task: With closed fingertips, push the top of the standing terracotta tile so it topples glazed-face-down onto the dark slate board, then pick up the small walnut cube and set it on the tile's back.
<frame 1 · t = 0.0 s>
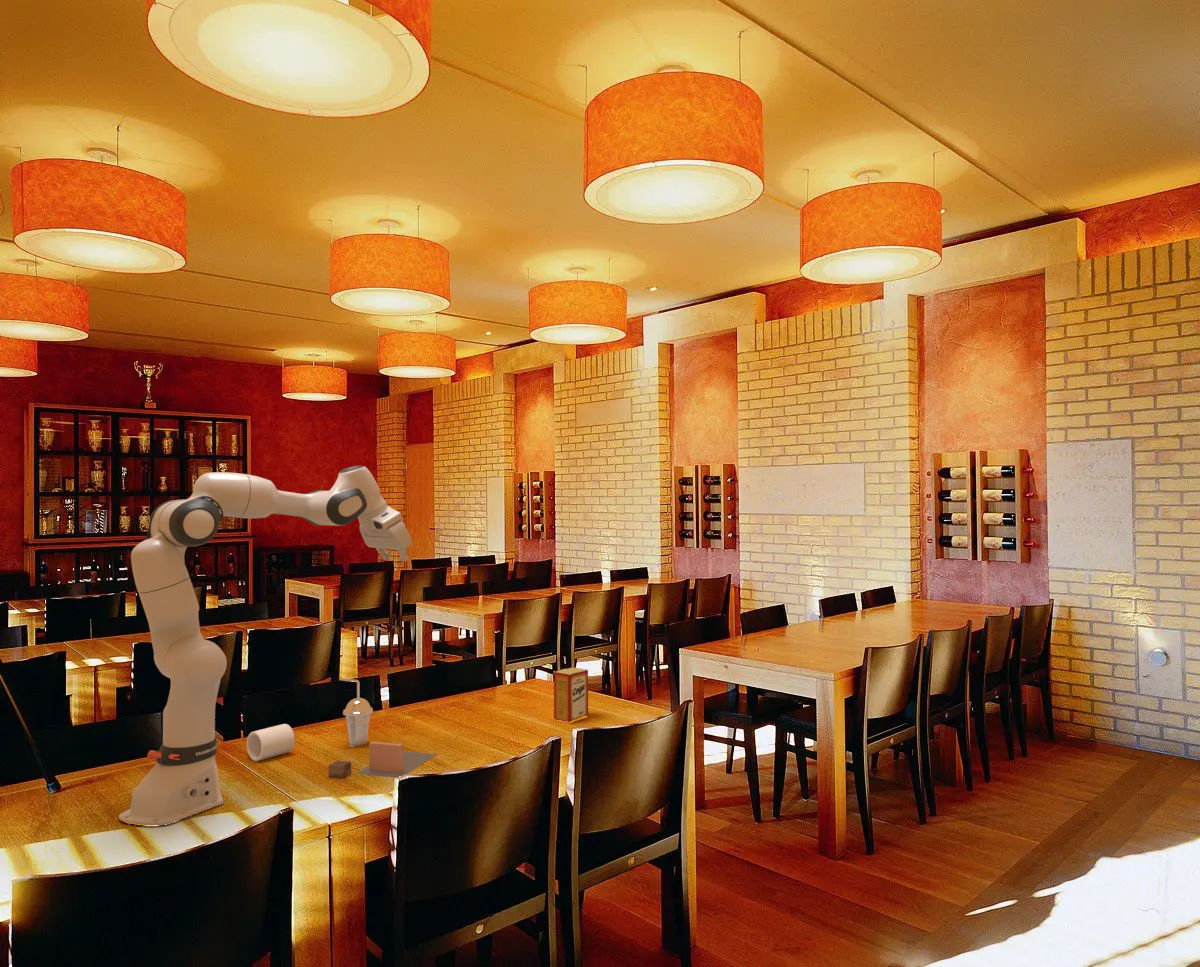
hand: (396, 559, 234), 54 cm above the table, tool tilted 30°, fingers open, 8 cm apart
tile: (386, 770, 213), point 1 cm above the table, touching slate board
cup with straw: (357, 746, 237), on the table
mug: (266, 755, 229), on the table
walnut cube: (340, 779, 209), on the table
slate board: (398, 766, 218), on the table
baking soda box: (571, 719, 265), on the table
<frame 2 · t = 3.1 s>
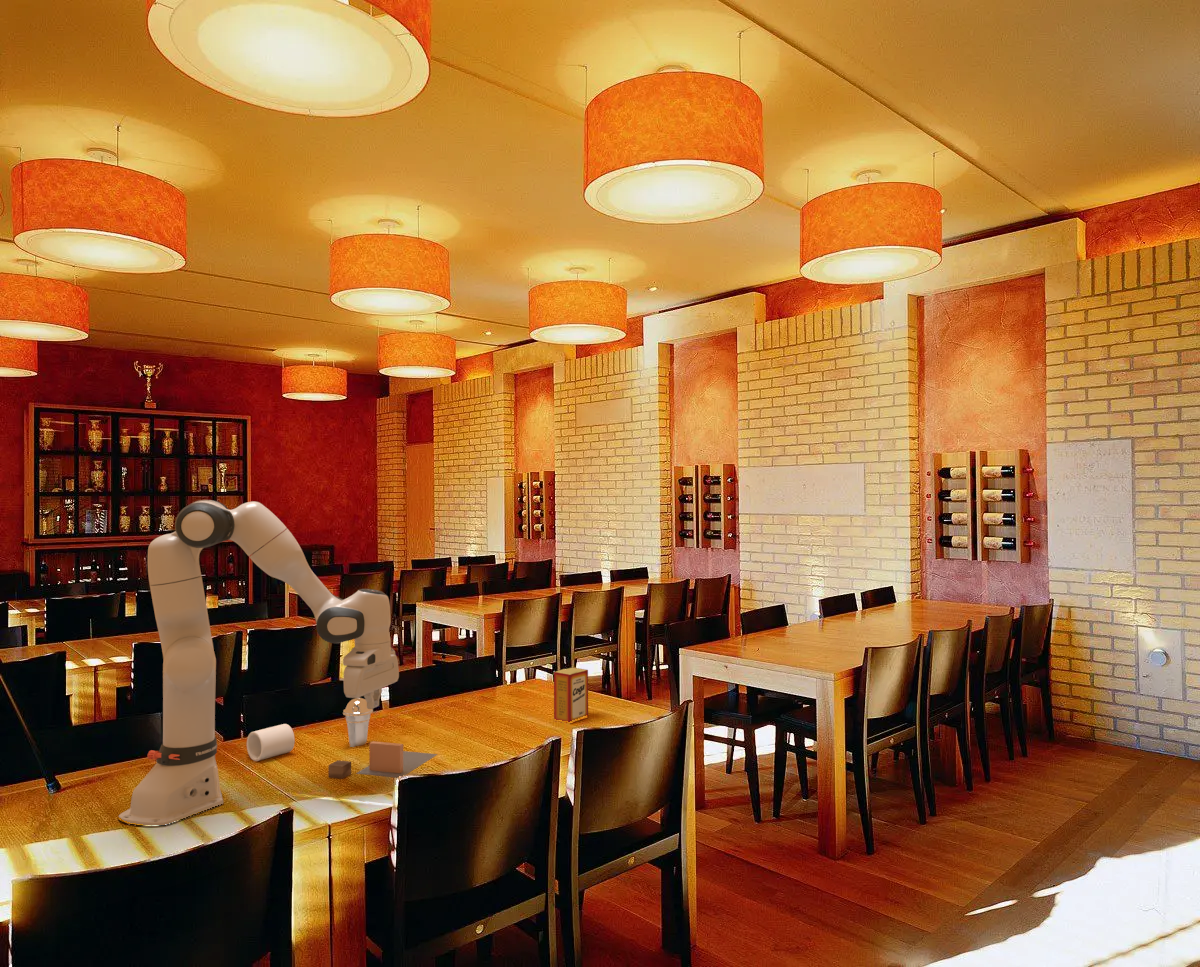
hand: (372, 707, 207), 19 cm above the table, tool pointing down, fingers closed
nothing on the table moved.
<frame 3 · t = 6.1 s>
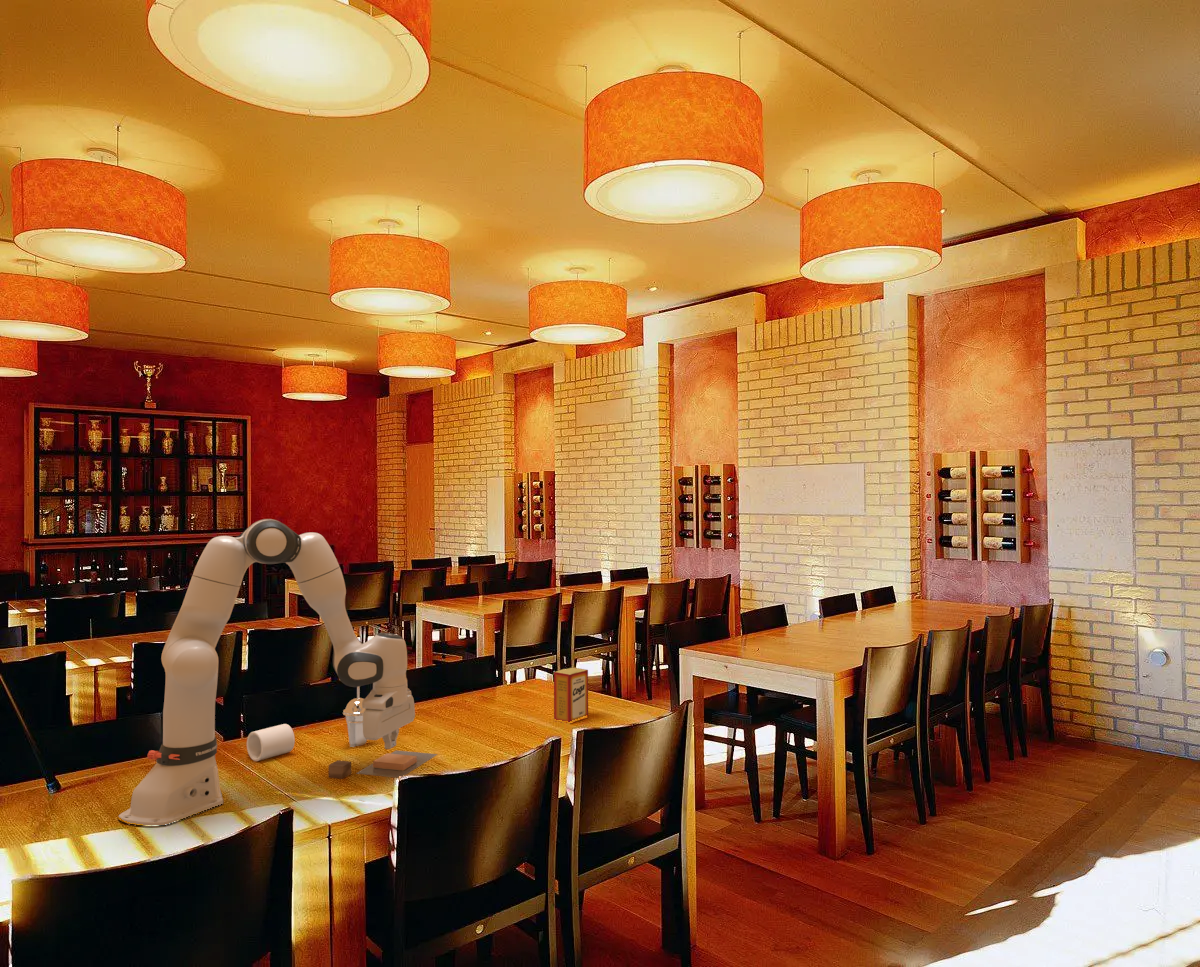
hand: (390, 747, 214), 6 cm above the table, tool pointing down, fingers closed
tile: (388, 765, 213), point 2 cm above the table, tilted 90°, touching slate board
everything else where it was.
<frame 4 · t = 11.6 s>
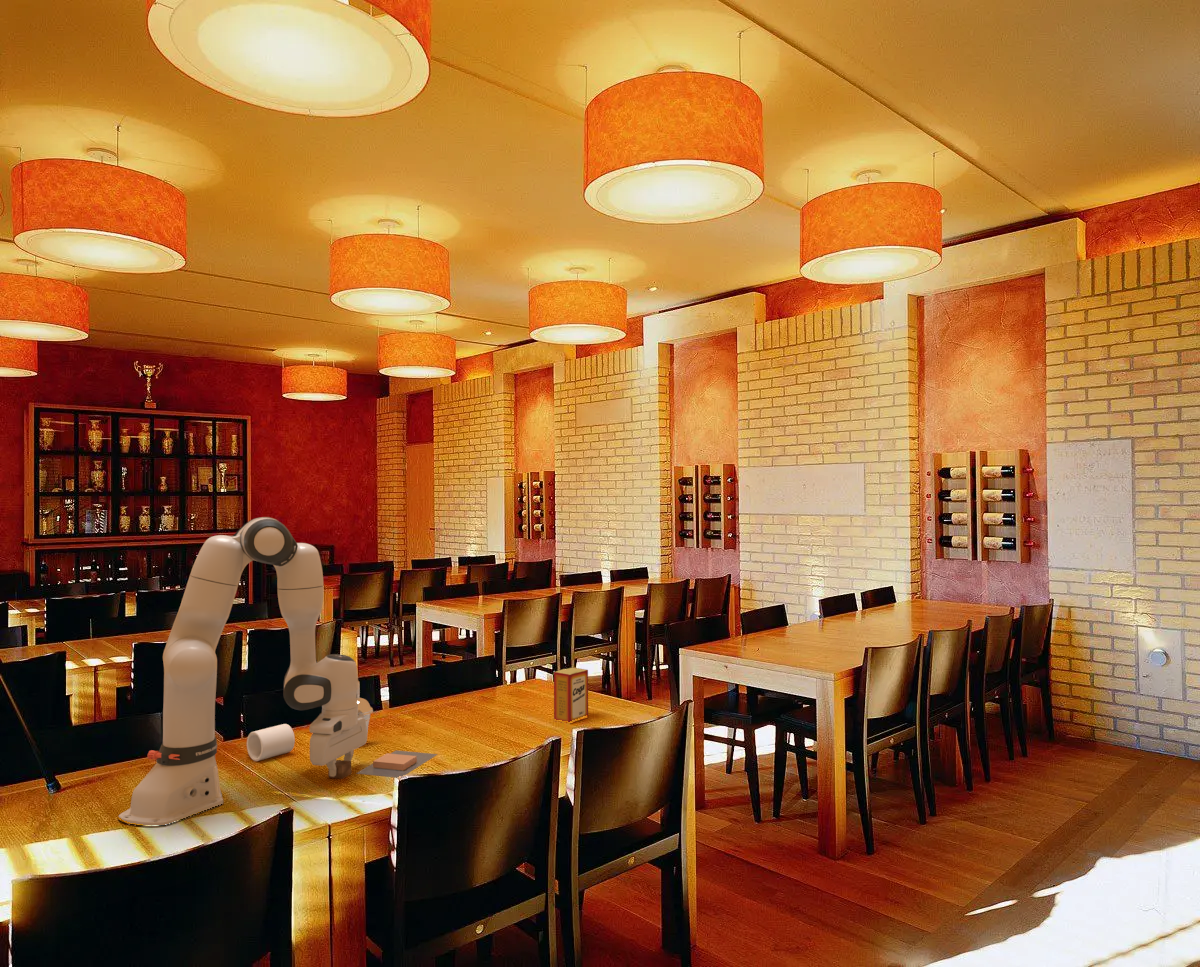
hand: (340, 772, 209), 2 cm above the table, tool pointing down, fingers closed on walnut cube, 4 cm apart
walnut cube: (340, 778, 209), on the table, touching gripper
everything else where it was.
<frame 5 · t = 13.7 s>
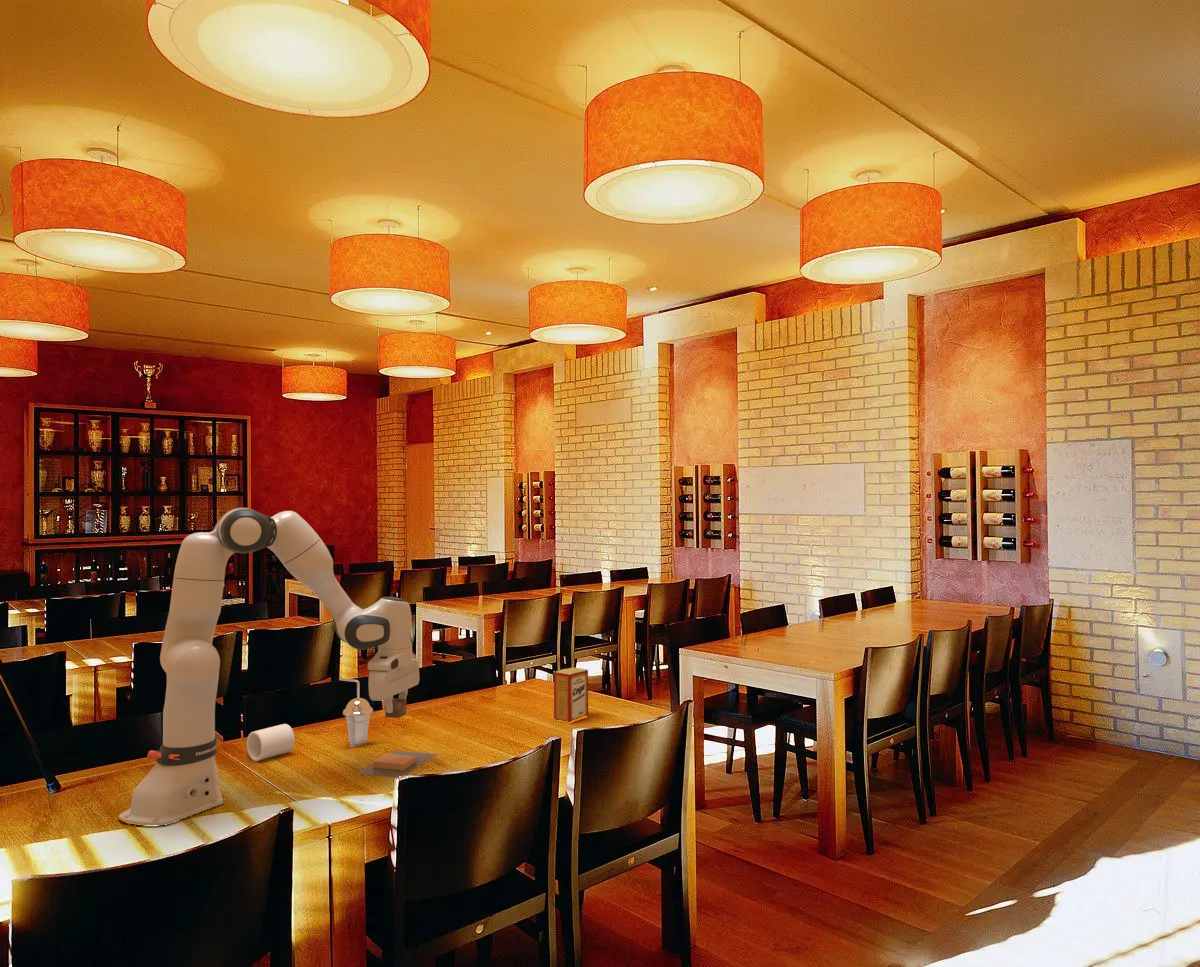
hand: (395, 709, 217), 16 cm above the table, tool pointing down, fingers closed on walnut cube, 4 cm apart
walnut cube: (396, 715, 217), point 14 cm above the table, touching gripper
everything else where it was.
when the fingers open (5 cm above the table, at t = 15.9 s): walnut cube drops 1 cm, resting on tile.
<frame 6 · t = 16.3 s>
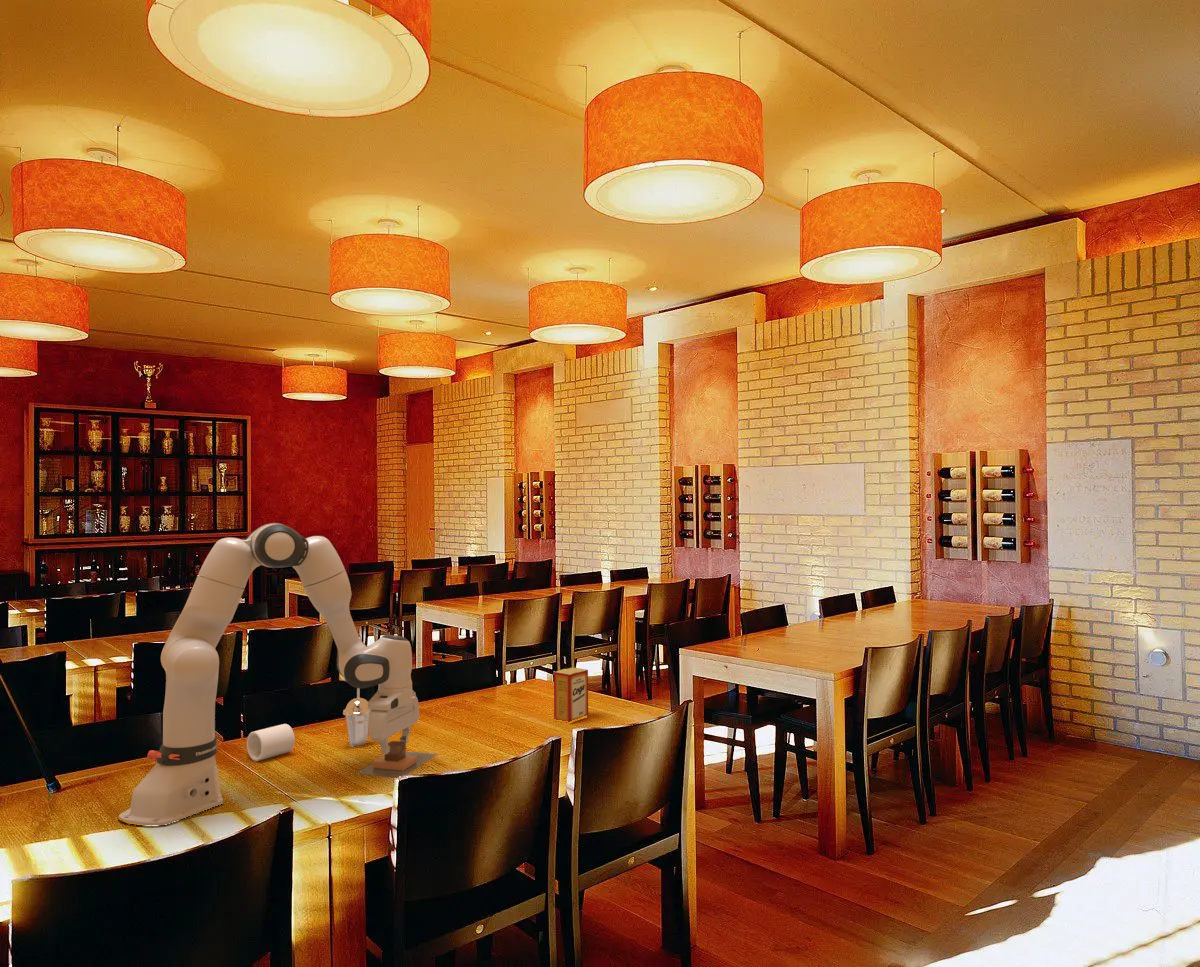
hand: (395, 748, 217), 5 cm above the table, tool pointing down, fingers open, 8 cm apart
tile: (388, 765, 213), point 2 cm above the table, tilted 90°, touching slate board, walnut cube
walnut cube: (395, 758, 217), point 3 cm above the table, touching tile
everything else where it was.
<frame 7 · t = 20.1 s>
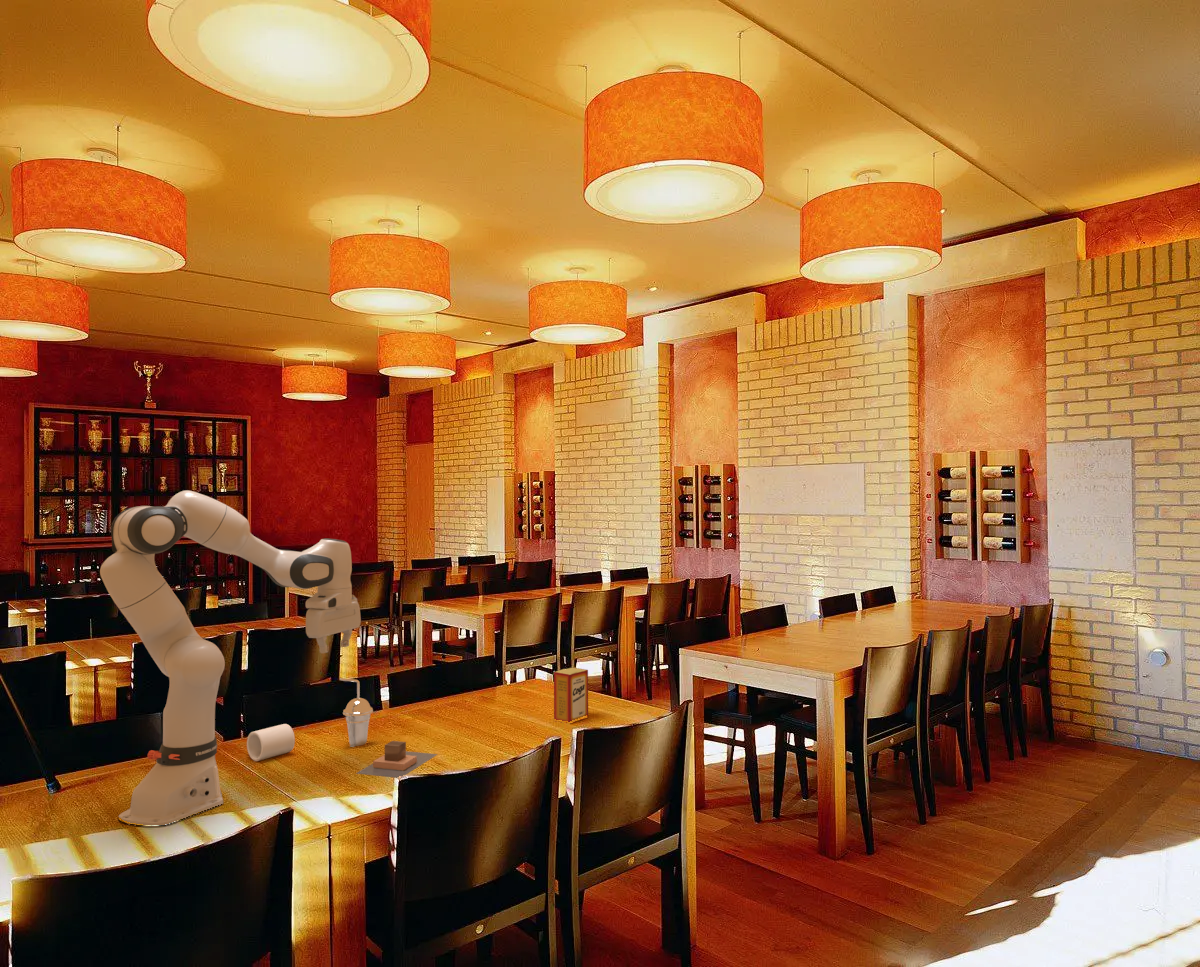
hand: (334, 649, 220), 31 cm above the table, tool pointing down, fingers open, 8 cm apart
nothing on the table moved.
at the end: tile tilted 90°; tile inside the target area (4.1 cm from its centre), point 1.7 cm above the table; walnut cube inside the target area (0.5 cm from its centre), point 2.5 cm above the table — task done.
